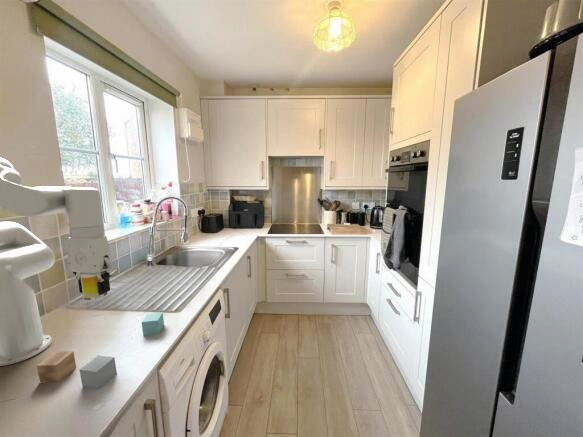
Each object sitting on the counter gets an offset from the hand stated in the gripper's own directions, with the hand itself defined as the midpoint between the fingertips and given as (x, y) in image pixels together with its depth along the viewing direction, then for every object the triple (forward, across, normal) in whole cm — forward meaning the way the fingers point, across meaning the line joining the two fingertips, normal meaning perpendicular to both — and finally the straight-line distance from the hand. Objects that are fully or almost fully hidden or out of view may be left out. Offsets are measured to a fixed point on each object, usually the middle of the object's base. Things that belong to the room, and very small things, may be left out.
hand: (95, 291), depth 71 cm
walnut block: (+20, -3, -10) cm, 22 cm away
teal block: (+19, +9, +11) cm, 24 cm away
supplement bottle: (+2, 0, 0) cm, 2 cm away
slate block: (+19, +10, -10) cm, 24 cm away
